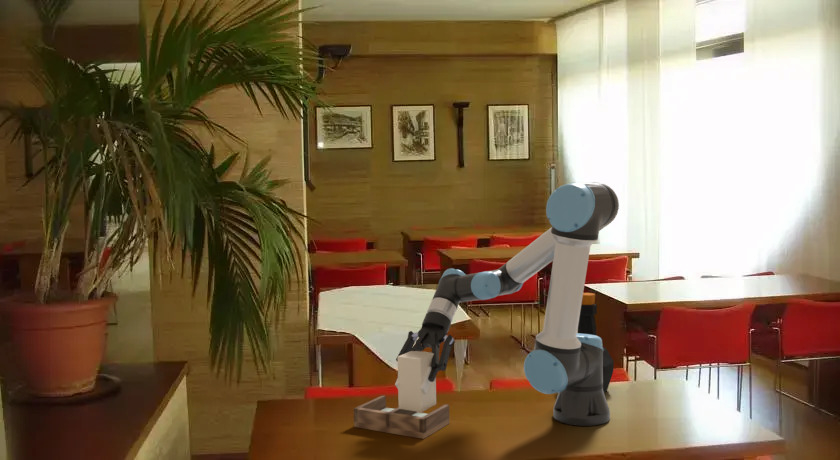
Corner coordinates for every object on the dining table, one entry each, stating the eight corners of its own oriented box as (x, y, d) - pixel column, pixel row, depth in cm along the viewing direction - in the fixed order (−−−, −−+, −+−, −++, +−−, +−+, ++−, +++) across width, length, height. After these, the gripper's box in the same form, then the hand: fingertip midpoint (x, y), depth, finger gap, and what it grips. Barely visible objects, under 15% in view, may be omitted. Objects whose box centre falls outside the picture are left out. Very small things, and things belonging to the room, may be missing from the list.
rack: (449, 423, 202) (449, 405, 202) (423, 438, 190) (423, 419, 190) (382, 412, 213) (382, 395, 213) (354, 426, 201) (353, 408, 201)
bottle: (616, 384, 236) (616, 290, 235) (610, 399, 221) (609, 298, 219) (566, 381, 242) (565, 289, 240) (556, 394, 227) (555, 296, 225)
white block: (436, 404, 201) (435, 352, 200) (421, 412, 194) (420, 359, 194) (413, 400, 205) (412, 350, 204) (398, 408, 198) (397, 356, 197)
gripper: (475, 328, 207) (448, 401, 194) (413, 322, 217) (384, 392, 204) (466, 312, 202) (438, 386, 189) (403, 307, 212) (373, 377, 199)
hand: (410, 389), depth 196 cm, fingers closed on white block, 7 cm apart
